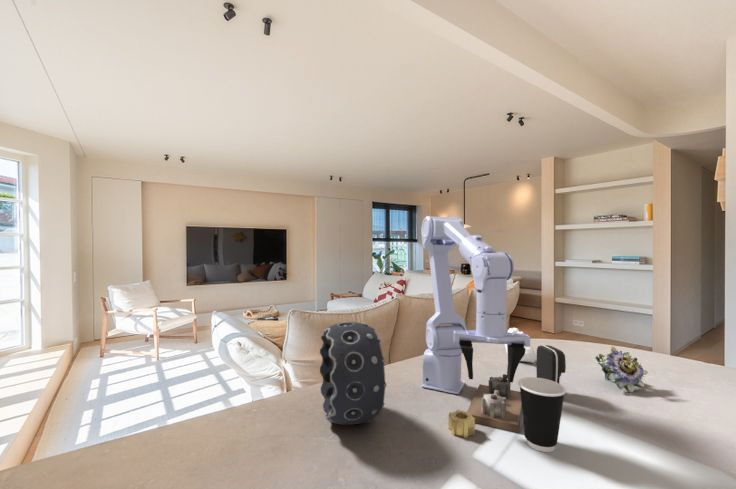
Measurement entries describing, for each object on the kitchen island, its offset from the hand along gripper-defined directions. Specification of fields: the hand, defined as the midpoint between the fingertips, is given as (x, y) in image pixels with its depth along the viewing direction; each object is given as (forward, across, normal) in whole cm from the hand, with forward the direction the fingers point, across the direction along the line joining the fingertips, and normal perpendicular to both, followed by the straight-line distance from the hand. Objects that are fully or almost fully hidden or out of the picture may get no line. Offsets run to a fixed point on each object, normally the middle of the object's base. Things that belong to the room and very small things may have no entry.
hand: (490, 378), depth 72 cm
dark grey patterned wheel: (+10, -28, -3) cm, 30 cm away
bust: (+10, +16, +44) cm, 48 cm away
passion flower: (+10, +37, +28) cm, 47 cm away
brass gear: (+10, -6, -3) cm, 12 cm away
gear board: (+10, +3, +8) cm, 13 cm away
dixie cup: (+10, +8, -5) cm, 14 cm away
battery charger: (+10, +18, +19) cm, 28 cm away
